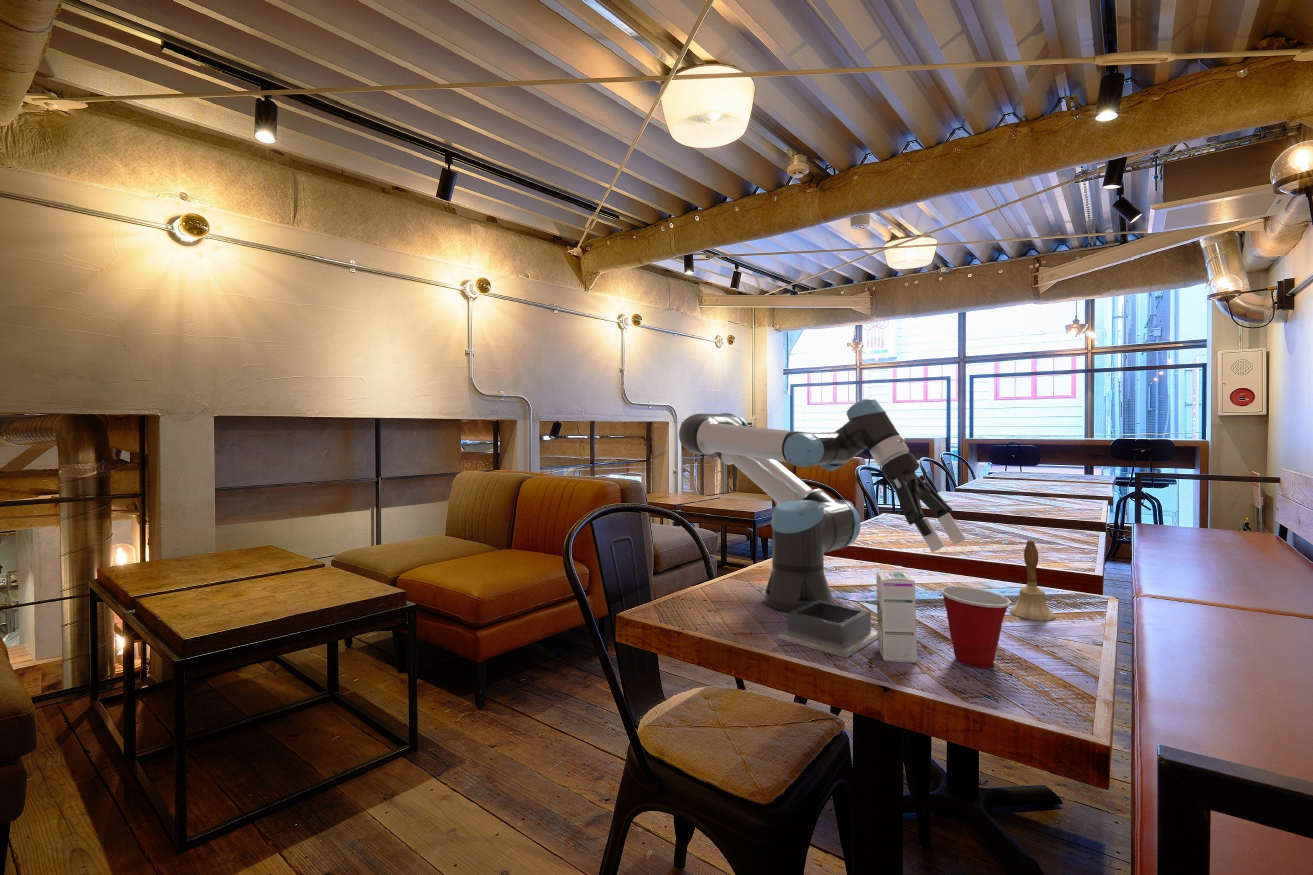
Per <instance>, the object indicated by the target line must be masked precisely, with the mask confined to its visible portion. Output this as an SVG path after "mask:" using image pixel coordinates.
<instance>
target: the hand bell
mask: <svg viewBox="0 0 1313 875" xmlns="http://www.w3.org/2000/svg"><path fill="white" fill-rule="evenodd" d="M1023 559H1024V564H1025V566H1026V571H1027V573H1026V574H1027V576H1026V578H1027V579H1026V582H1027V583H1026V584H1027V585H1026V586H1023V587H1021V588H1020V590H1019V593H1018V594H1019V595H1018V598H1017V601H1016V604H1014V606H1012V607H1011V608H1010V610H1009V613H1010V614H1011V615H1013V616H1014V617H1016V618H1017V617H1018V618H1020V619H1024V620H1029V621H1036V622H1050V621H1054V620H1055V619H1056V614H1055V613H1054V612H1053V611H1052V610H1051V609H1050V608H1049V605H1048V603H1047V599H1046V593H1045V591H1044V590H1043V589H1041V588H1039V587H1038V585H1037V584H1038V582H1037V568H1038V567H1037V566H1038V565H1039V552H1038V549H1037V546H1036V543H1035V541H1034V540H1027V542H1026V545H1025V548H1024V552H1023Z"/></svg>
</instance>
